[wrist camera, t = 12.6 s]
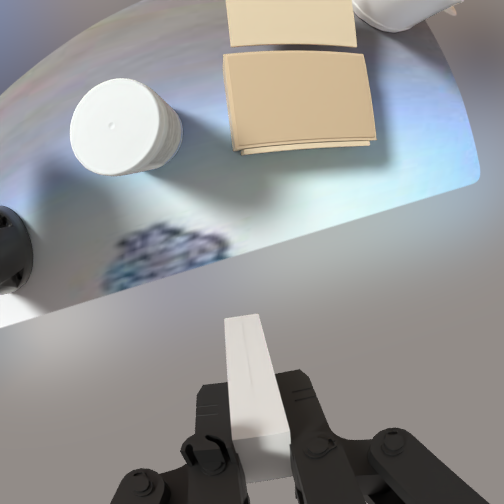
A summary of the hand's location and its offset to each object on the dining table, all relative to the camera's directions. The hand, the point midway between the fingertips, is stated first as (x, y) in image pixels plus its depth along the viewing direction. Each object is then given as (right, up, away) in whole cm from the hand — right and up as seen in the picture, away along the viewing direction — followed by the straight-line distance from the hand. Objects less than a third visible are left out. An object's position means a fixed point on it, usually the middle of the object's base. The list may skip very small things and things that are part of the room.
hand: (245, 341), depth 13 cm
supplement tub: (-14, +20, +24) cm, 34 cm away
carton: (+6, +24, +24) cm, 35 cm away
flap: (+6, +29, +16) cm, 34 cm away
